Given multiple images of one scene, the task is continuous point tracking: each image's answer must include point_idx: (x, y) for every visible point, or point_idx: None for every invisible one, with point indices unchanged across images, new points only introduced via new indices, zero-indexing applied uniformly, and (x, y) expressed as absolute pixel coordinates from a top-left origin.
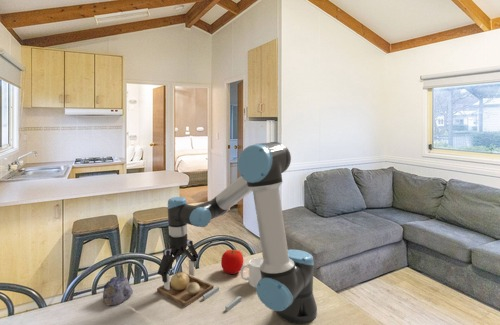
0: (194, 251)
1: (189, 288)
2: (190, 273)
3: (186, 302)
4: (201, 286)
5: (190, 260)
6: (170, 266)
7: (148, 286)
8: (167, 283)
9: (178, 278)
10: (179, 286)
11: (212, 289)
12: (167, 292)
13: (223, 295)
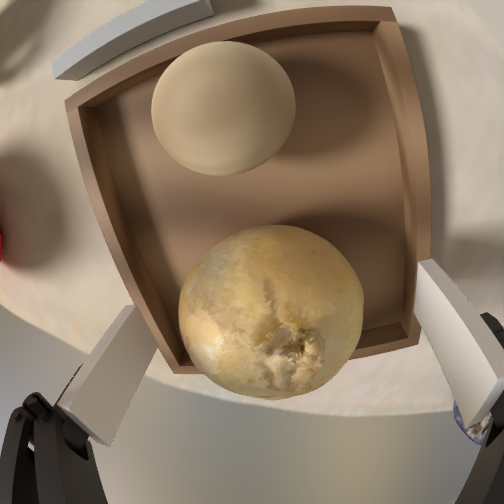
0: (6, 486)
1: (286, 87)
2: (145, 340)
3: (378, 10)
4: (130, 181)
5: (91, 436)
6: (500, 490)
7: (387, 389)
8: (461, 302)
9: (320, 322)
10: (326, 244)
11: (94, 47)
12: (418, 259)
13: (83, 16)
